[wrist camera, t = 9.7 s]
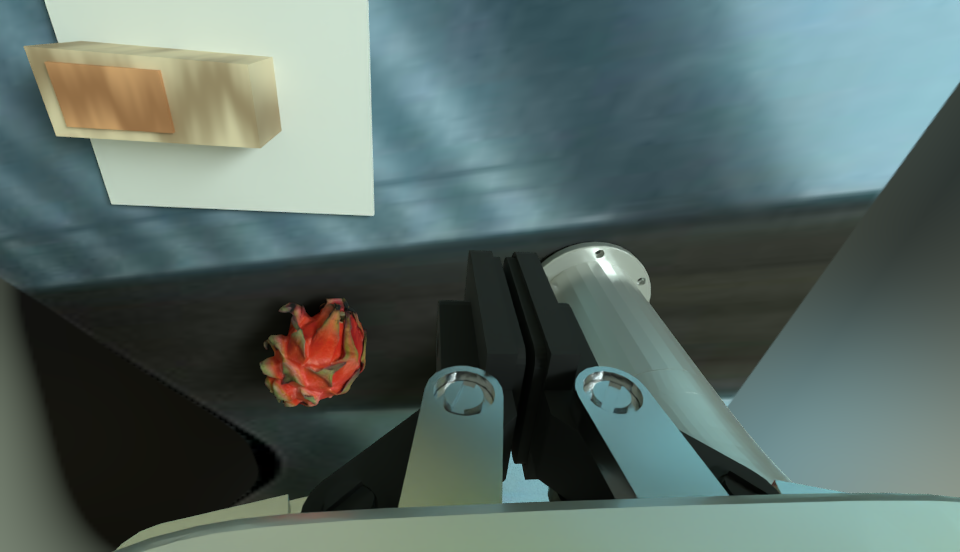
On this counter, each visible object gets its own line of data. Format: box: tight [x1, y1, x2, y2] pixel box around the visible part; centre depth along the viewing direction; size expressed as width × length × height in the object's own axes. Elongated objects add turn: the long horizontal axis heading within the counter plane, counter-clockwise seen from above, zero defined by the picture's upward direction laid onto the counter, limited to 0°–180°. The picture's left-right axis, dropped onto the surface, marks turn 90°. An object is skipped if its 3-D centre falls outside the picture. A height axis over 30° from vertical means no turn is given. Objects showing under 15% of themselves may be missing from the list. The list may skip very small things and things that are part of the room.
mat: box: [44, 0, 374, 216], centre depth 33 cm, size 18×20×1 cm
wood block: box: [24, 41, 282, 148], centre depth 30 cm, size 5×5×12 cm
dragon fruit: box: [260, 296, 367, 407], centre depth 41 cm, size 8×8×12 cm
